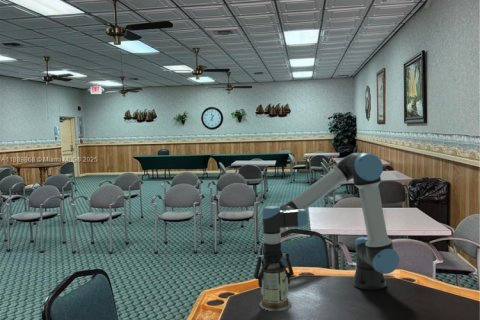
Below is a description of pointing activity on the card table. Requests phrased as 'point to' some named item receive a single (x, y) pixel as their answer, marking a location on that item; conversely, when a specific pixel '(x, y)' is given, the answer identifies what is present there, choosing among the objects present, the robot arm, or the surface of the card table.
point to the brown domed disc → (275, 305)
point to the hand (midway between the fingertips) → (274, 292)
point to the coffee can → (274, 284)
